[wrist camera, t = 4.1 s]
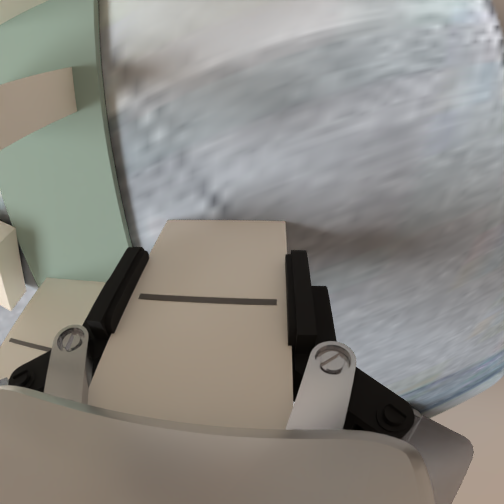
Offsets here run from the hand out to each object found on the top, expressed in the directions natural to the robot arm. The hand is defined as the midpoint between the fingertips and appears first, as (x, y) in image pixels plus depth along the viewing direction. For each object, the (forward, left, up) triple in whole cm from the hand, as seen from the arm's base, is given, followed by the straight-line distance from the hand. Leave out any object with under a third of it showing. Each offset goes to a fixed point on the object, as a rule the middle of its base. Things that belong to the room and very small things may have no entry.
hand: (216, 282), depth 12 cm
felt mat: (+8, 0, -3) cm, 9 cm away
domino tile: (0, 0, -3) cm, 3 cm away
